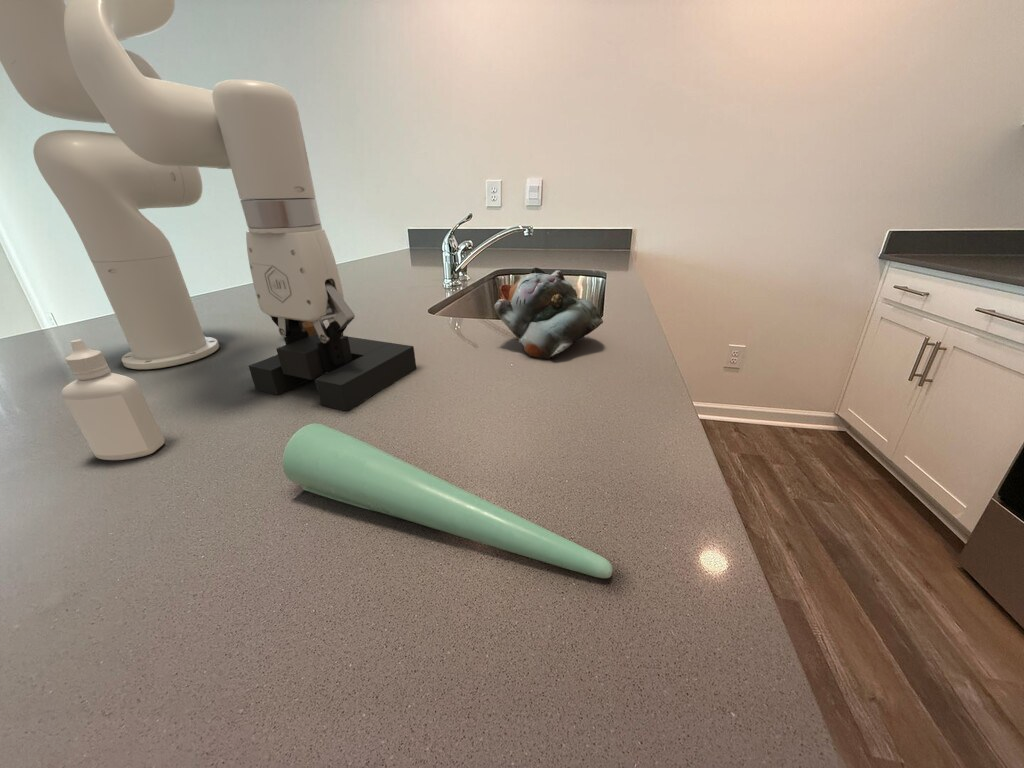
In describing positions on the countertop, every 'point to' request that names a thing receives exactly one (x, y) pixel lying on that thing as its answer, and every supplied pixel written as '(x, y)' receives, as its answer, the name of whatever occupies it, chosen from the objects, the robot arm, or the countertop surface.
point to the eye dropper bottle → (109, 408)
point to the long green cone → (421, 498)
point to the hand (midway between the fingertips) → (318, 364)
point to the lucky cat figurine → (546, 313)
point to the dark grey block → (307, 357)
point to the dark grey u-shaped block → (344, 373)
